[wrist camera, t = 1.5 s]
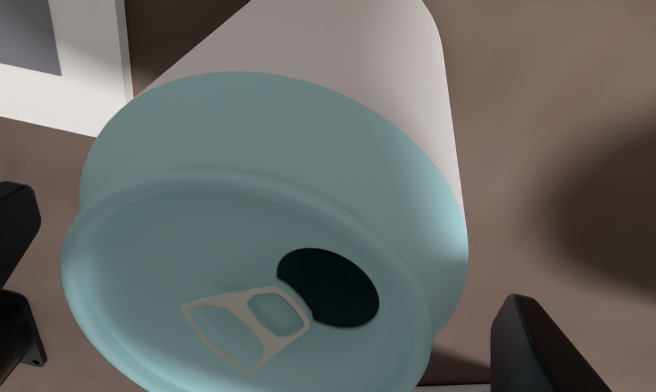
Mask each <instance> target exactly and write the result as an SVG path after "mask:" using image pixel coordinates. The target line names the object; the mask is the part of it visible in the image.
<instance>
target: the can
mask: <svg viewBox="0 0 656 392" xmlns="http://www.w3.org/2000/svg"><path fill="white" fill-rule="evenodd" d="M468 255H469V252H468V238H467V230H466V223H465V215H464V208H463V200H462V193H461V185H460V178H459V170H458V163H457V155H456V148H455V140H454V133H453V125H452V118H451V110H450V103H449V95H448V87H447V80H446V72H445V65H444V57H443V50H442V45H441V39H440V36H439V33H438V29H437V27H436V24H435V22H434V20H433V18H432V16H431V14H430V12H429V10H428V9H427V7H426V6H425V4H424V3H423V1H422V0H251V1H250V2H248V3H247V4H246V5H245V6H244V7H242V8H241V9H240V10H239V11H238V12H236V13H235V14H234V15H233V16H232V17H230V18H229V19H228V20H227V21H226V22H224V23H223V24H222V25H221V26H220V27H218V28H217V29H216V30H215V31H214V32H212V33H211V34H210V35H209V36H208V37H206V38H205V39H204V40H203V41H202V42H200V43H199V44H198V45H197V46H196V47H194V48H193V49H192V50H191V51H190V52H188V53H187V54H186V55H185V56H184V57H182V58H181V59H180V60H179V61H178V62H176V63H175V64H174V65H173V66H172V67H170V68H169V69H168V70H167V71H166V72H165V73H163V74H162V75H161V76H160V77H159V78H157V79H156V80H155V81H154V82H153V83H151V84H150V85H149V86H148V87H147V88H145V89H144V90H143V91H142V92H141V93H139V94H138V95H137V96H136V97H135V98H133V99H132V100H131V101H130V102H129V103H127V104H126V105H125V106H124V107H123V108H121V109H120V110H119V111H118V112H117V113H116V114H115V115H114V116H113V117H112V118H111V119H110V120H109V121H108V122H107V124H106V125H105V126H104V128H103V129H102V130H101V132H100V133H99V134H98V136H97V138H96V140H95V142H94V144H93V145H92V147H91V149H90V152H89V154H88V156H87V159H86V162H85V165H84V167H83V170H82V175H81V180H80V186H79V215H78V216H77V217H76V218H75V220H74V221H73V223H72V224H71V226H70V228H69V230H68V231H67V233H66V236H65V239H64V242H63V244H62V250H61V255H60V275H61V282H62V287H63V291H64V294H65V297H66V300H67V302H68V305H69V308H70V310H71V312H72V314H73V316H74V318H75V320H76V322H77V323H78V325H79V326H80V328H81V330H82V331H83V333H84V334H85V335H86V337H87V338H88V339H89V341H90V342H91V343H92V344H93V345H94V347H95V348H96V349H97V350H98V351H99V352H100V353H101V354H102V355H103V356H104V357H105V358H106V359H107V360H108V361H109V362H110V363H111V364H112V365H113V366H115V367H116V368H117V369H118V370H119V371H120V372H122V373H123V374H124V375H126V376H127V377H128V378H130V379H131V380H132V381H134V382H135V383H137V384H138V385H140V386H141V387H143V388H144V389H146V390H147V391H149V392H411V391H412V390H413V389H414V388H415V387H416V385H417V384H418V382H419V381H420V380H421V378H422V376H423V374H424V372H425V370H426V367H427V364H428V361H429V358H430V353H431V347H432V339H433V338H434V337H435V336H436V335H437V334H438V333H439V332H440V330H441V329H442V328H443V327H444V326H445V324H446V323H447V321H448V320H449V318H450V317H451V316H452V314H453V312H454V310H455V308H456V306H457V304H458V301H459V298H460V295H461V293H462V290H463V287H464V283H465V279H466V274H467V269H468Z"/></svg>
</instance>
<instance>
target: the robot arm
mask: <svg viewBox="0 0 656 392" xmlns="http://www.w3.org/2000/svg"><path fill="white" fill-rule="evenodd" d="M40 226H41V216H40V212H39V208H38V205H37V201H36V197H35V193H34V190H33V189H32V188H31V186H29V185H27V184H23V183H18V182H14V181H3V182H0V291H1V289H2V288H3V287H4V285H5V283H6V282H7V280H8V279H9V277H10V275H11V274H12V272H13V271H14V269H15V268H16V266H17V264H18V263H19V261H20V260H21V258H22V257H23V255H24V253H25V252H26V250H27V249H28V247H29V245H30V244H31V242H32V241H33V239H34V238H35V236H36V234H37V233H38V231H39V229H40ZM46 361H47V357H46V354H45V351H44V348H43V345H42V342H41V339H40V336H39V333H38V330H37V327H36V324H35V321H34V318H33V315H32V312H31V309H30V306H29V304H28V302H27V301H26V300H24V299H23V298H20V297H16V296H12V295H7V294H3V293H0V386H1V385H2V384H3V383H4V381H5V380H6V379H7V378H8V376H9V375H10V374H11V373H12V371H13V370H14V369H15V368H16V366H17V365H18V364H19V362H20V363H24V364H28V365H32V366H37V367H43V366H44V364H45V363H46ZM490 392H612V391H611V390H610V388H609V387H608V386H607V385H606V384H605V382H604V381H603V380H602V379H601V378H600V376H599V375H598V374H597V373H596V372H595V370H594V369H593V368H592V367H591V366H590V364H589V363H588V362H587V361H586V360H585V358H584V357H583V356H582V355H581V354H580V352H579V351H578V350H577V349H576V348H575V346H574V345H573V344H572V343H571V342H570V340H569V339H568V338H567V337H566V336H565V334H564V333H563V332H562V331H561V330H560V328H559V327H558V326H557V325H556V324H555V322H554V321H553V320H552V319H551V318H550V316H549V315H548V314H547V313H546V312H545V310H544V309H543V308H542V307H541V305H540V304H539V303H538V302H537V301H536V300H535V299H534V298H531V297H528V296H523V295H519V294H510V295H509V296H508V297H507V298H506V300H505V302H504V303H503V305H502V307H501V309H500V310H499V312H498V314H497V316H496V317H495V319H494V321H493V324H492V327H491V364H490Z"/></svg>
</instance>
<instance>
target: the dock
mask: <svg viewBox="0 0 656 392" xmlns="http://www.w3.org/2000/svg"><path fill="white" fill-rule="evenodd" d="M132 99H133V88H132V78H131V67H130V57H129V47H128V37H127V26H126V16H125V6H124V0H0V116H2V117H6V118H11V119H15V120H20V121H25V122H29V123H34V124H38V125H43V126H47V127H52V128H56V129H61V130H65V131H70V132H74V133H79V134H83V135H88V136H93V137H97V136H98V134H99V133H100V132H101V130H102V129H103V128H104V126H105V125H106V124H107V122H108V121H109V120H110V119H111V118H112V117H113V116H114V115H115V114H116V113H117V112H118V111H119V110H120V109H121V108H123V107H124V106H125V105H126V104H127V103H129V102H130V101H131V100H132Z"/></svg>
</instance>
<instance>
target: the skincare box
mask: <svg viewBox="0 0 656 392" xmlns="http://www.w3.org/2000/svg"><path fill="white" fill-rule="evenodd" d="M411 392H490V384H473V385H447V386H421V387H415V388H414V389H413V390H412V391H411Z"/></svg>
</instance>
